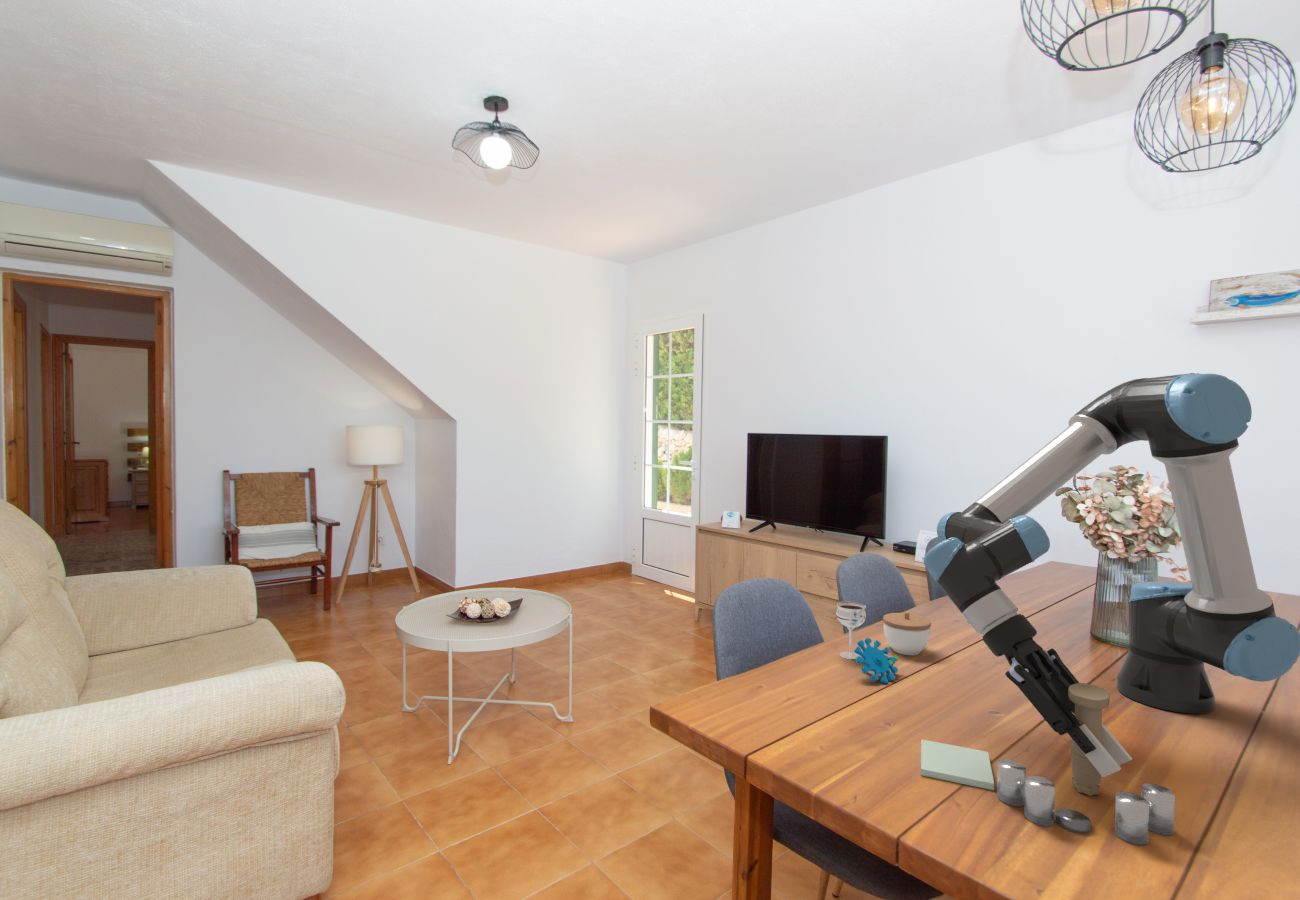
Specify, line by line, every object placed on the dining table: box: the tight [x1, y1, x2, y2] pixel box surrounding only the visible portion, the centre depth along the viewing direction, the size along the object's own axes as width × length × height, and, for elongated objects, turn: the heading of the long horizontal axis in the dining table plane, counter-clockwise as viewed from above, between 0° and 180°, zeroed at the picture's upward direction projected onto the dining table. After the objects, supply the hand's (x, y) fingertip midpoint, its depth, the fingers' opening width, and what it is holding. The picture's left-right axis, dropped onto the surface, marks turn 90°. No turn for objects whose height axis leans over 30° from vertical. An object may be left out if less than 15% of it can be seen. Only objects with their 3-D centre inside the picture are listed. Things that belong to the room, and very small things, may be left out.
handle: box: [1068, 682, 1111, 797], centre depth 92 cm, size 5×6×15 cm
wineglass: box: [835, 601, 867, 660], centre depth 147 cm, size 7×7×12 cm
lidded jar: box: [882, 611, 932, 656], centre depth 150 cm, size 11×11×9 cm
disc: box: [1054, 807, 1092, 835], centre depth 85 cm, size 4×4×1 cm
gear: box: [853, 637, 900, 684], centre depth 136 cm, size 11×6×10 cm
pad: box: [920, 739, 995, 791], centre depth 99 cm, size 10×10×1 cm
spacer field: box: [996, 758, 1176, 846], centre depth 86 cm, size 21×8×5 cm, turn 66°
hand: (1117, 767), depth 89 cm, fingers closed on handle, 4 cm apart
